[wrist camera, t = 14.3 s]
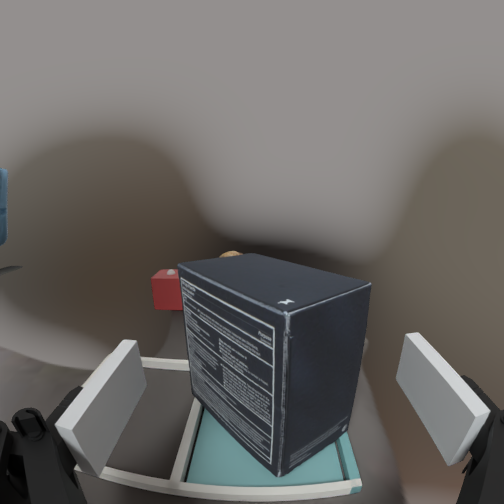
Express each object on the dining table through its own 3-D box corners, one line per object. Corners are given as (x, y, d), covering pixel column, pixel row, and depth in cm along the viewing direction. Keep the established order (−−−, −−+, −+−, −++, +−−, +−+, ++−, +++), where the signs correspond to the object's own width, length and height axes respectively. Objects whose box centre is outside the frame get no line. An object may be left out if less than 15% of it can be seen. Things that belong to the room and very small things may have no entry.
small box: (354, 429, 16) (379, 278, 14) (278, 483, 13) (285, 316, 10) (257, 367, 25) (254, 248, 23) (189, 393, 21) (171, 262, 19)
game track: (37, 454, 13) (33, 447, 12) (111, 359, 26) (109, 353, 26) (359, 492, 12) (362, 485, 12) (322, 366, 26) (323, 359, 25)
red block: (154, 309, 40) (150, 274, 39) (164, 298, 44) (160, 265, 43) (185, 310, 40) (182, 274, 39) (192, 298, 44) (189, 265, 43)
